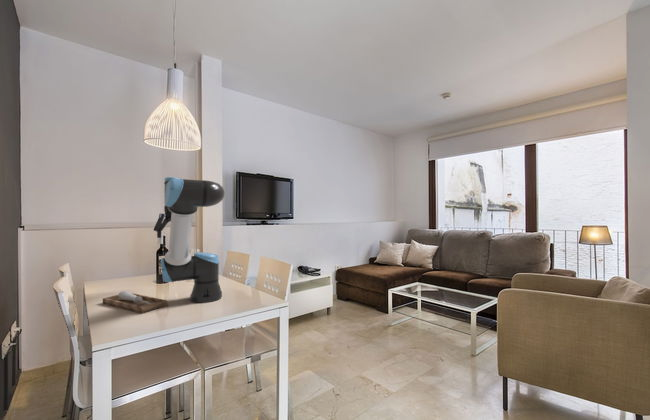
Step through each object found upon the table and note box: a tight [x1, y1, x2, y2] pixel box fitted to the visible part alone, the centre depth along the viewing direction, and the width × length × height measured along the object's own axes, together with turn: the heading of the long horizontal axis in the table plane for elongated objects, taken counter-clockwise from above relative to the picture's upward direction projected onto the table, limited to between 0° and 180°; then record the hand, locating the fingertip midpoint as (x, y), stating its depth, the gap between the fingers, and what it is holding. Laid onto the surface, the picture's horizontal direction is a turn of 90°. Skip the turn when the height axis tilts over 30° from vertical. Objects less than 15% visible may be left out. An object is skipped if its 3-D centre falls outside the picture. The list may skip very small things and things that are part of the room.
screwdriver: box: [117, 290, 151, 305], centre depth 142 cm, size 5×25×4 cm, turn 62°
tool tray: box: [102, 292, 168, 314], centre depth 142 cm, size 30×12×2 cm, turn 64°
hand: (171, 242), depth 168 cm, fingers open, 13 cm apart
